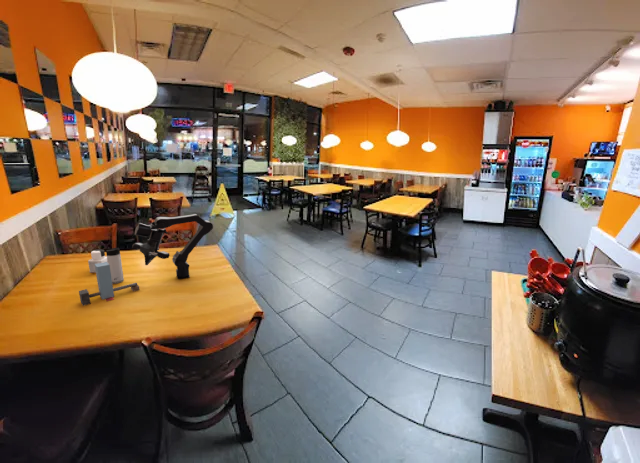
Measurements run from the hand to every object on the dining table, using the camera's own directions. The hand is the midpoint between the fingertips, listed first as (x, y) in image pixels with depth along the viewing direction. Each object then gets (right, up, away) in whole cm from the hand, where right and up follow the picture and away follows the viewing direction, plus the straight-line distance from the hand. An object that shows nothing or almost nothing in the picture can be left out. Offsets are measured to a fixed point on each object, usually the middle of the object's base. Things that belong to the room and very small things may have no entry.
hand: (146, 265), depth 162 cm
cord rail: (-10, -14, -13) cm, 22 cm away
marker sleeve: (-12, -15, -14) cm, 24 cm away
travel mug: (-19, -10, +3) cm, 21 cm away
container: (-39, -5, +17) cm, 43 cm away
